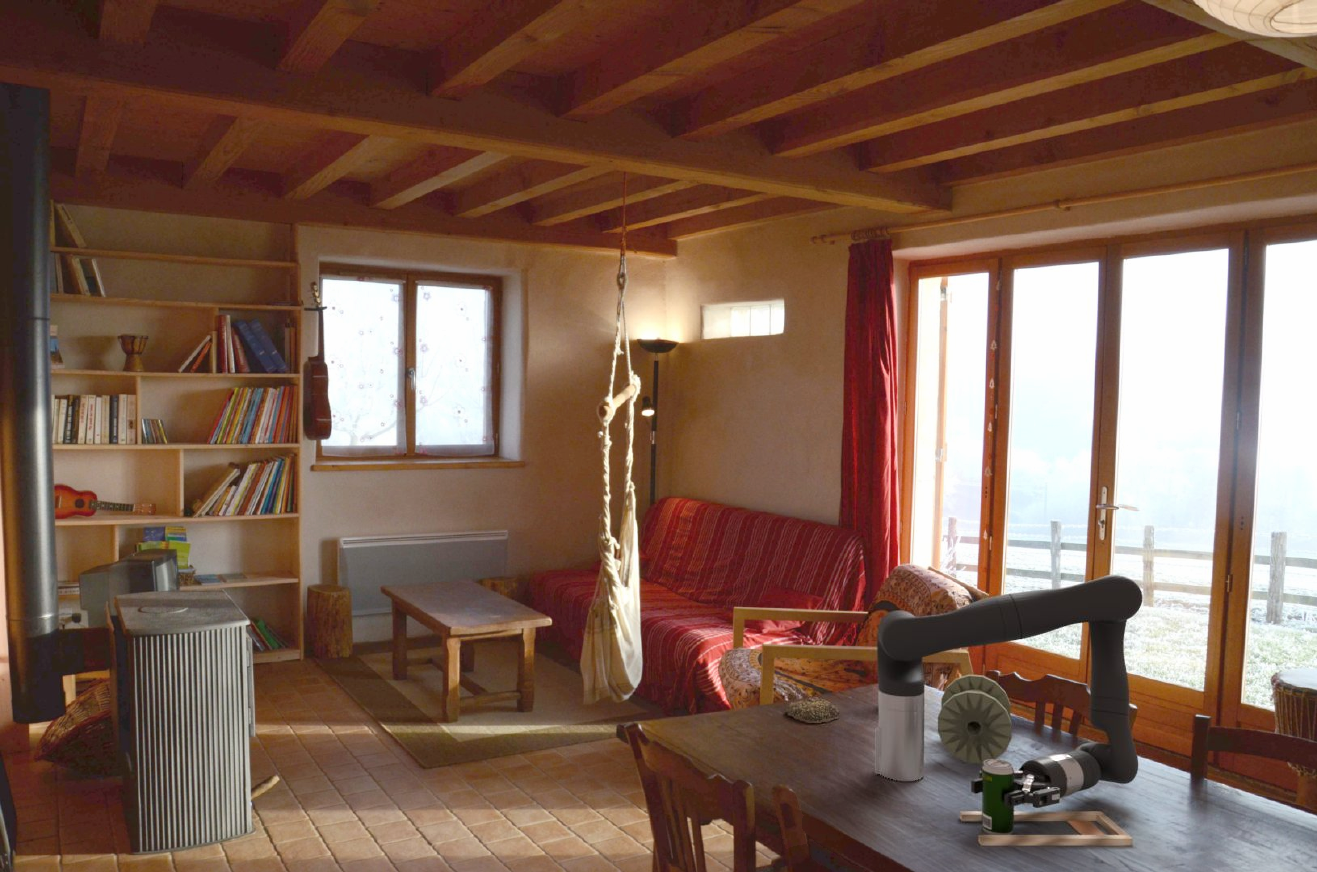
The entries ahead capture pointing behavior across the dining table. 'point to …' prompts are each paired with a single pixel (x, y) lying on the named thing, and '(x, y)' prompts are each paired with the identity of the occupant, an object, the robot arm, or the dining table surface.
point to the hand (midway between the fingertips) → (989, 794)
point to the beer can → (997, 797)
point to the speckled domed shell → (813, 709)
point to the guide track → (1074, 818)
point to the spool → (975, 719)
